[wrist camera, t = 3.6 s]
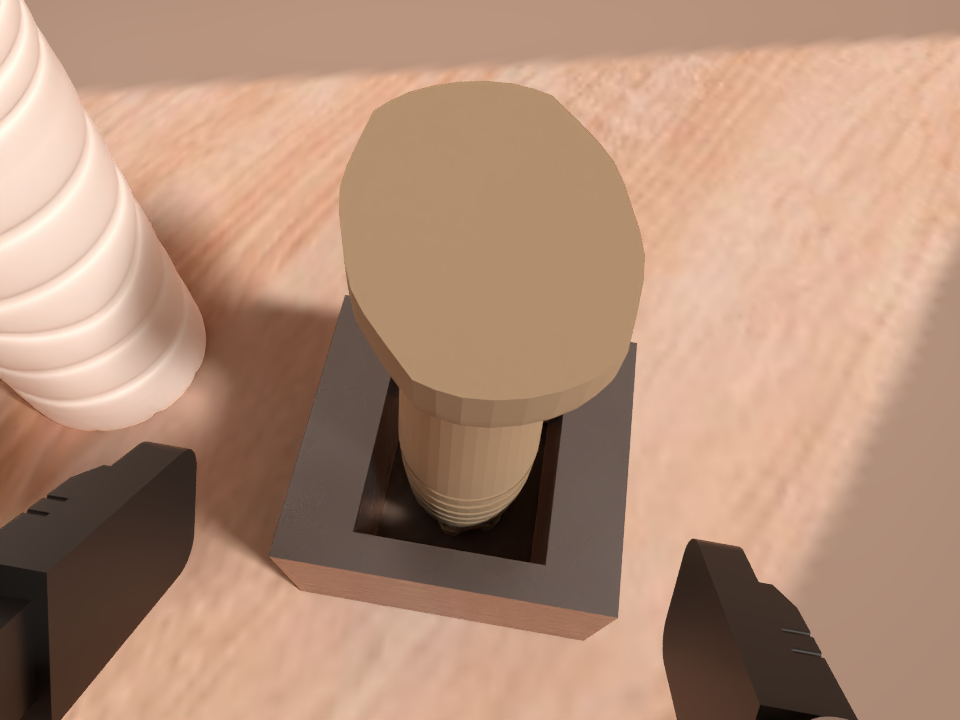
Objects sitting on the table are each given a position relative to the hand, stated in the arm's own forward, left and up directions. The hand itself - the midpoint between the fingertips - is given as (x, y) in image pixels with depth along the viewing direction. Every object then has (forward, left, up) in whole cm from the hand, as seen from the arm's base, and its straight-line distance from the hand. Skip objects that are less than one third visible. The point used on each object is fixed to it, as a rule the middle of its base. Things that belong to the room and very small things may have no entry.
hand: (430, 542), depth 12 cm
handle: (0, +5, -13) cm, 14 cm away
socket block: (0, +5, -13) cm, 14 cm away
